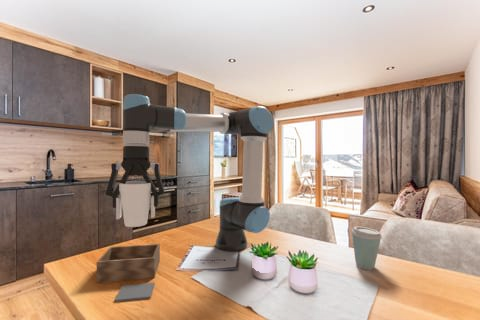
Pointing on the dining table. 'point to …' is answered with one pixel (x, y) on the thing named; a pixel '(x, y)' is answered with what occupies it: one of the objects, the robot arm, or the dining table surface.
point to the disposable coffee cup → (366, 246)
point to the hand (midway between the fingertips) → (136, 217)
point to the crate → (128, 263)
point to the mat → (135, 292)
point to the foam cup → (135, 202)
